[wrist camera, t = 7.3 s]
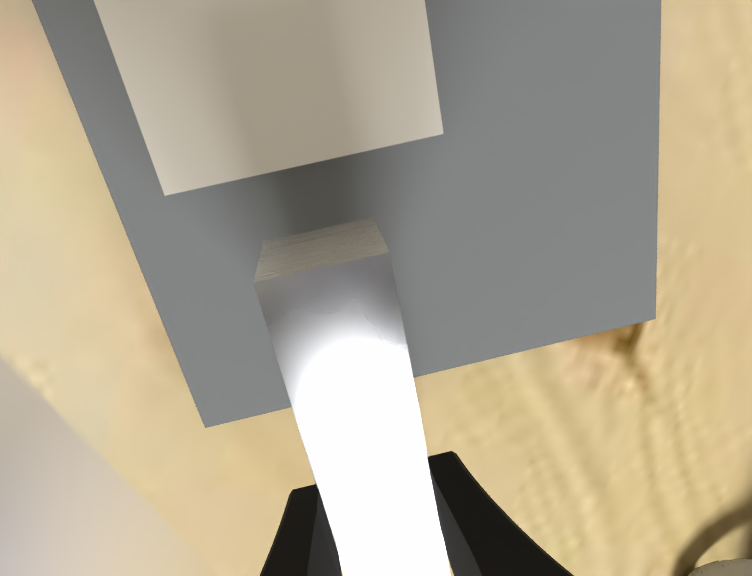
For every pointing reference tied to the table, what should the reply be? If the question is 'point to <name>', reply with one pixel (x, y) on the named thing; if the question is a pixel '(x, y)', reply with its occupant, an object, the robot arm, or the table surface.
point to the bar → (353, 394)
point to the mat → (417, 195)
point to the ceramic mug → (725, 568)
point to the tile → (271, 81)
